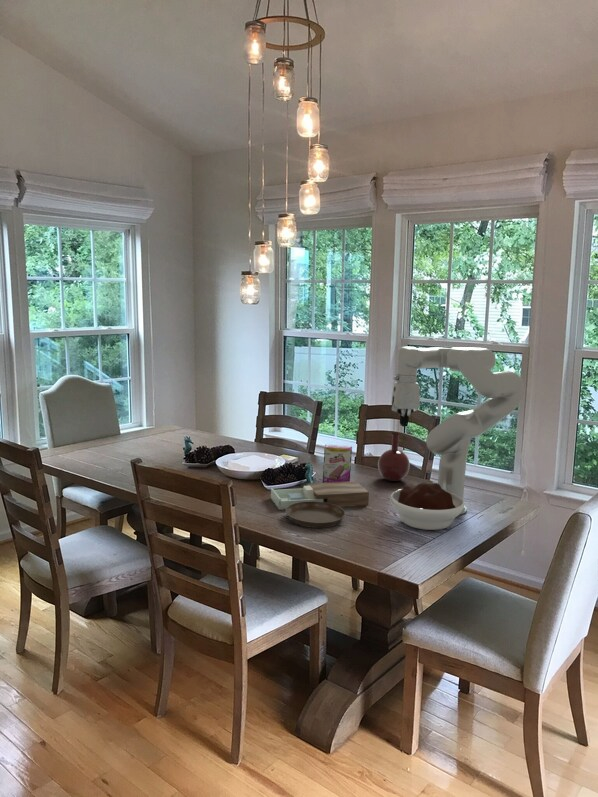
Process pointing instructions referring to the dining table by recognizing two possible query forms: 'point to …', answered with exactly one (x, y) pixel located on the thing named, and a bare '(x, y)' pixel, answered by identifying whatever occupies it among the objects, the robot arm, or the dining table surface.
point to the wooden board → (341, 493)
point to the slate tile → (295, 496)
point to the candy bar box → (337, 463)
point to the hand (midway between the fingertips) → (403, 425)
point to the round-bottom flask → (393, 462)
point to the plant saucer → (315, 514)
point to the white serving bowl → (426, 506)
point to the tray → (282, 497)
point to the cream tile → (308, 492)
